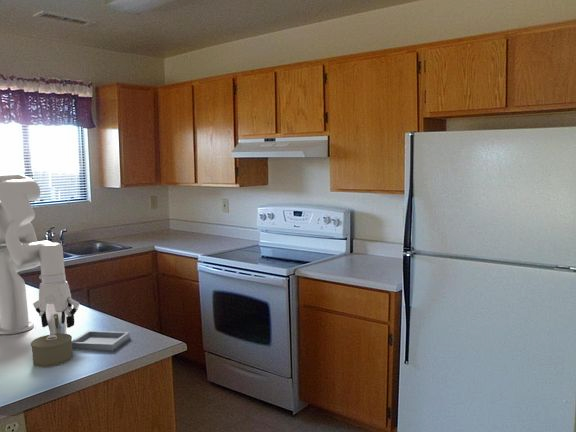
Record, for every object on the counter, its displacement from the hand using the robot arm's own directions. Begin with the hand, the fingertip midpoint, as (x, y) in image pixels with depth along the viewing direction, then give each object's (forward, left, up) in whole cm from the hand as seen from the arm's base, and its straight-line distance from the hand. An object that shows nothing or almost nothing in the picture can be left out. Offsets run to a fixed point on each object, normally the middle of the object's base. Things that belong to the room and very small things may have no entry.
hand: (58, 326), depth 182 cm
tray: (+16, 0, -6) cm, 17 cm away
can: (+8, -15, -6) cm, 18 cm away
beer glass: (0, 0, -6) cm, 6 cm away
